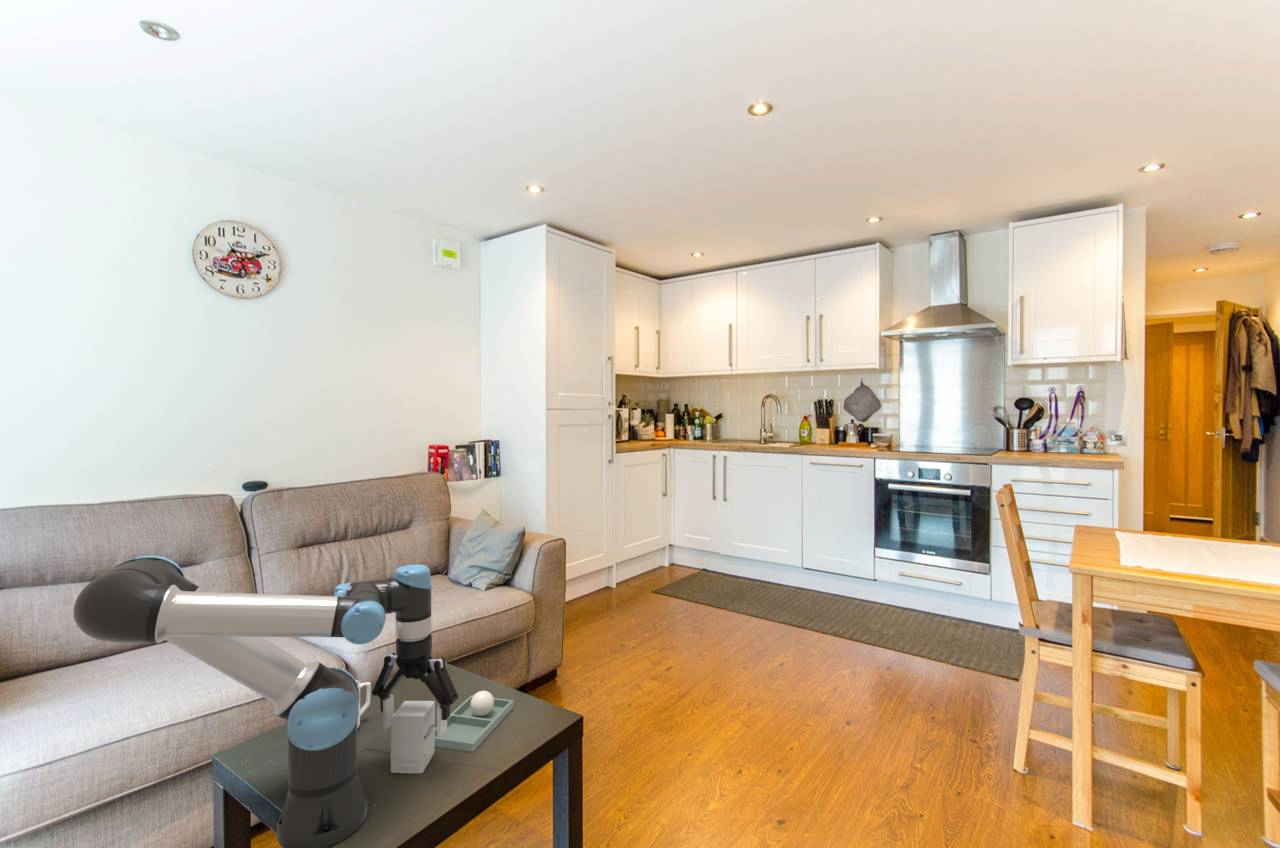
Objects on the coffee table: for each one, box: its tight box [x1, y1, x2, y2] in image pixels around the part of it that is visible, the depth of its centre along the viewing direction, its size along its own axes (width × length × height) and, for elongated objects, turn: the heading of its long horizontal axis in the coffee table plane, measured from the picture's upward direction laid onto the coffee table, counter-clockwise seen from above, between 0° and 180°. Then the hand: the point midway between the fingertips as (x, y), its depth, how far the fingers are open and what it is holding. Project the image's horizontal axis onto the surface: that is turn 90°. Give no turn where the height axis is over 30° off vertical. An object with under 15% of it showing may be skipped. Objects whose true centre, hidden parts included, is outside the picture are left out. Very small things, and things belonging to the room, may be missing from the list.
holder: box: [435, 694, 515, 753], centre depth 146 cm, size 21×12×2 cm, turn 167°
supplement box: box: [390, 700, 436, 774], centre depth 131 cm, size 7×7×13 cm
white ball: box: [470, 690, 495, 716], centre depth 151 cm, size 6×6×6 cm
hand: (415, 729), depth 131 cm, fingers open, 13 cm apart
